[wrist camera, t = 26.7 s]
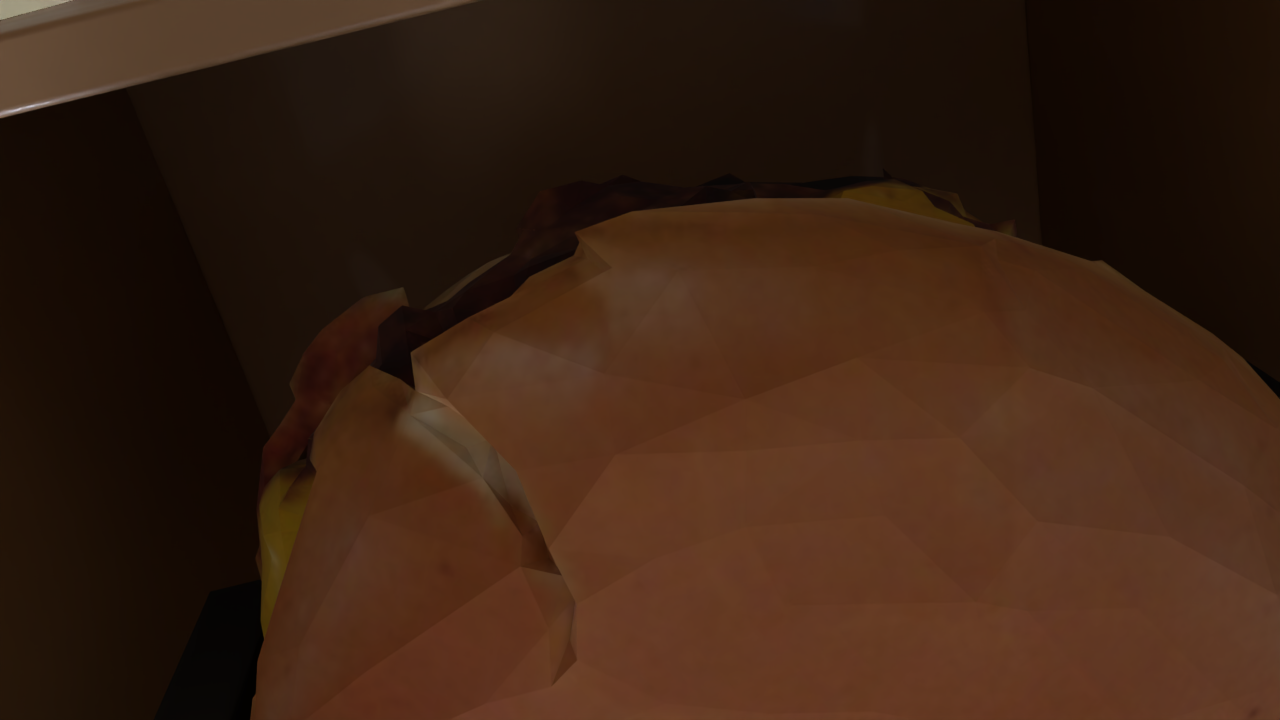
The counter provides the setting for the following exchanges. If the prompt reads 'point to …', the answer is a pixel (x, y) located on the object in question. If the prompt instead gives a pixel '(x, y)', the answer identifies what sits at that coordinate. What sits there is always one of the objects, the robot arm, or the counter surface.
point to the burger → (771, 479)
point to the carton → (502, 219)
